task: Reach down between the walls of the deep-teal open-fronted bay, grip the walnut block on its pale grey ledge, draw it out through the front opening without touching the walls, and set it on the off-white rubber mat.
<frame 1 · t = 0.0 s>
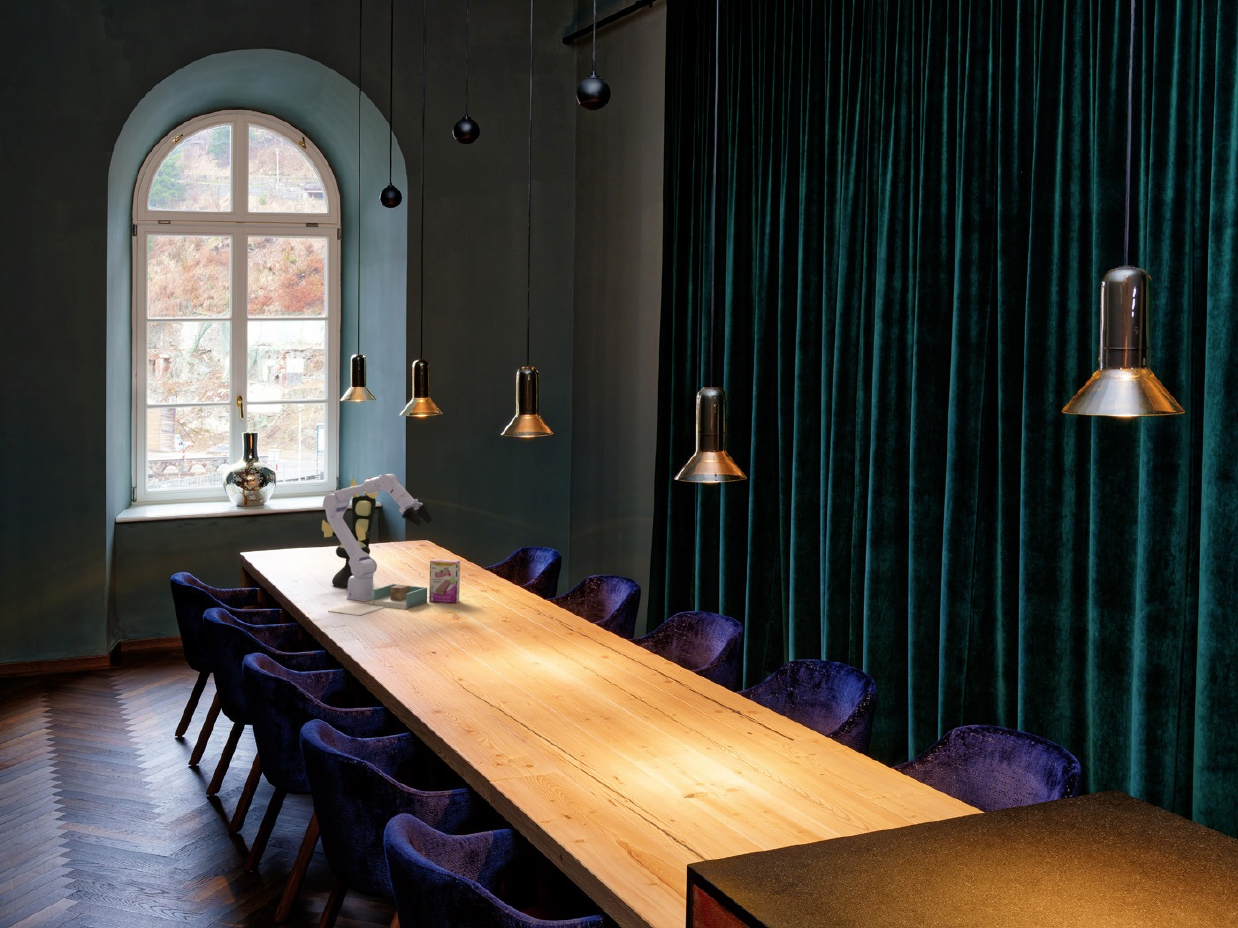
hand: (425, 523, 456), 32 cm above the table, tool tilted 50°, fingers open, 7 cm apart
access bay: (400, 603, 462), on the table
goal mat: (356, 609, 449), on the table
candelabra: (354, 584, 498), on the table
candy bar box: (444, 602, 468), on the table
walnut block: (399, 599, 461), point 2 cm above the table, touching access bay
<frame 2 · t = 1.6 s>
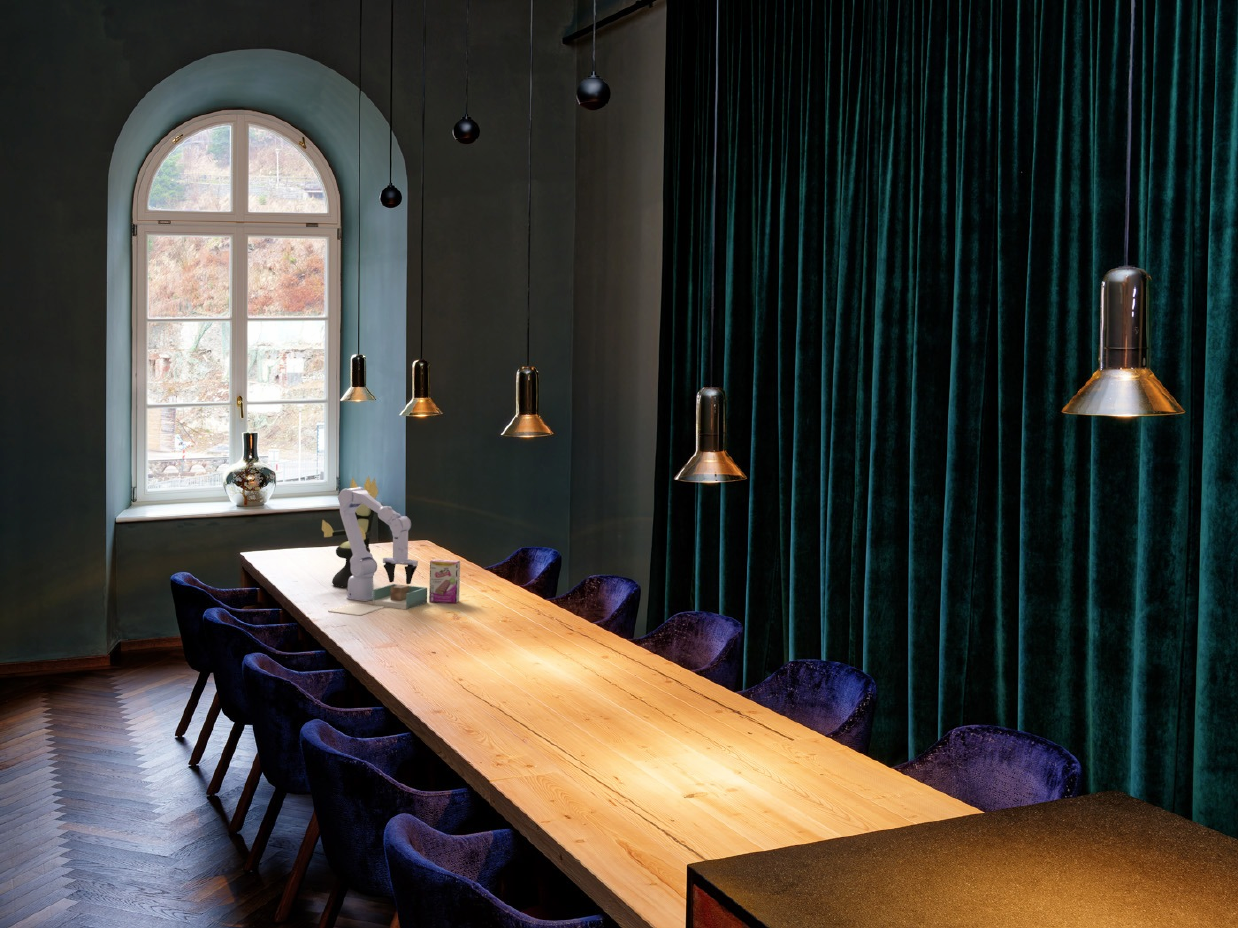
hand: (400, 582, 460), 8 cm above the table, tool pointing down, fingers open, 7 cm apart
nothing on the table moved.
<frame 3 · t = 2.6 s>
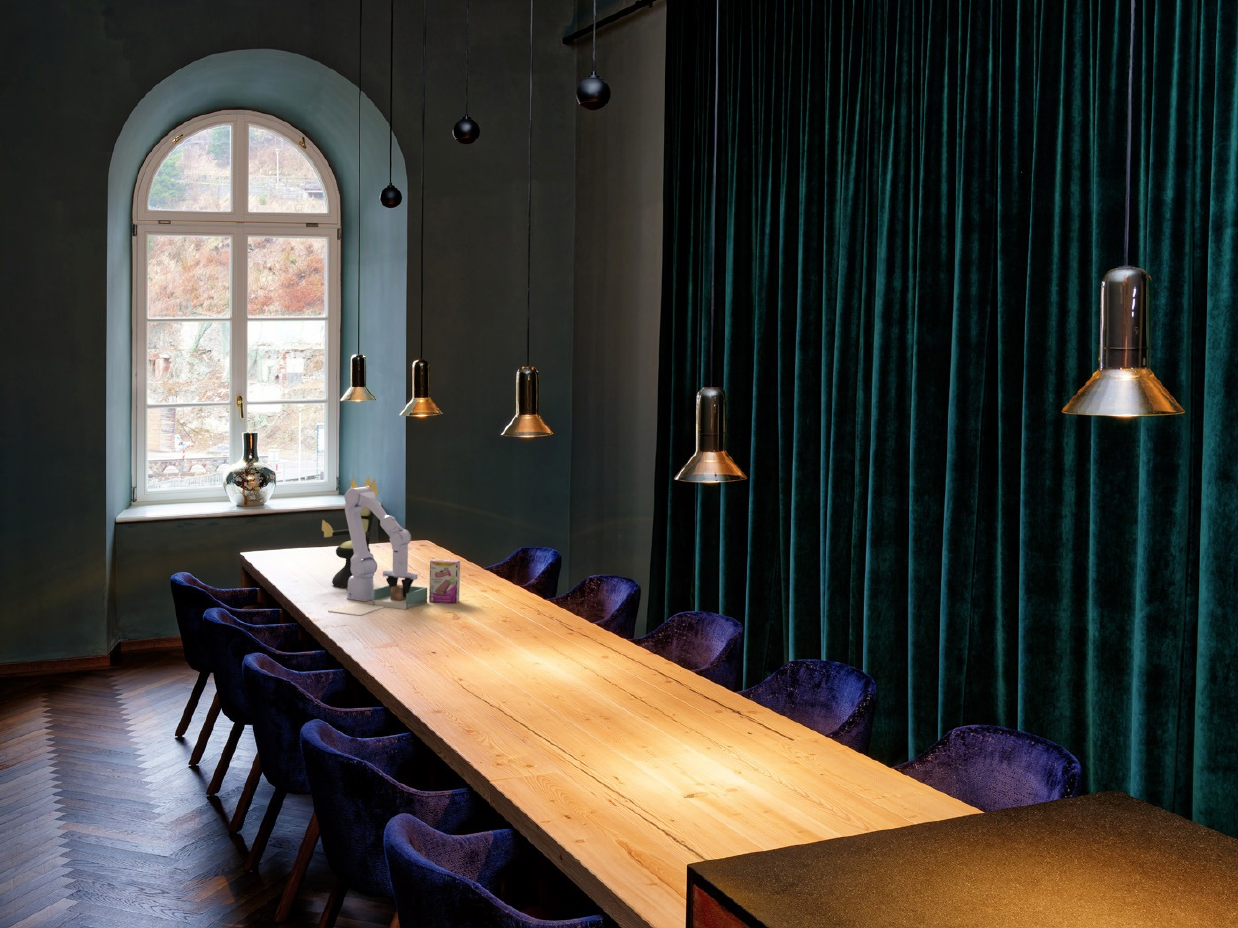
hand: (399, 596, 461), 3 cm above the table, tool pointing down, fingers closed on walnut block, 4 cm apart
walnut block: (399, 599, 461), point 2 cm above the table, touching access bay, gripper
everything else where it was.
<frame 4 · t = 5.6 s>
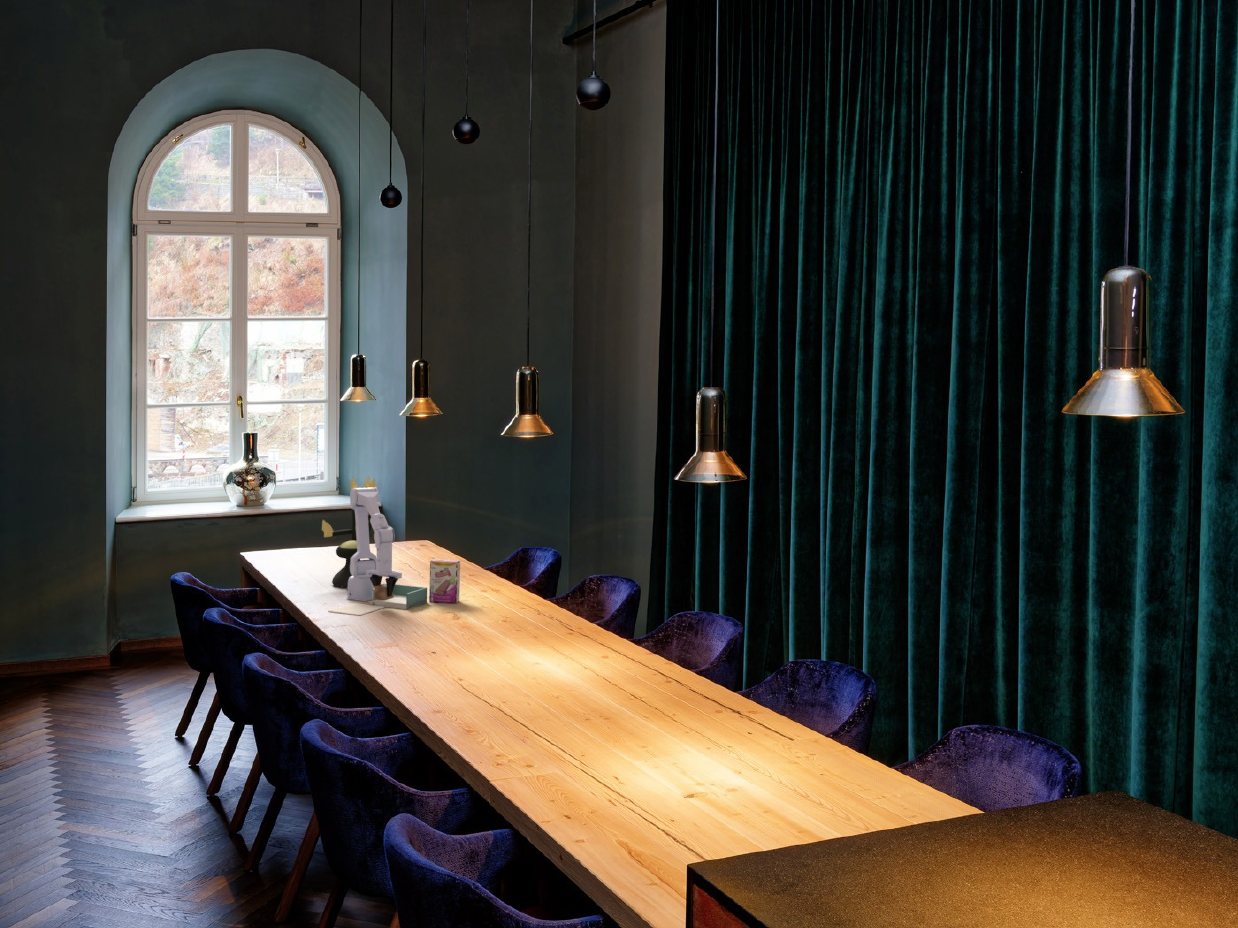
hand: (383, 595, 450), 5 cm above the table, tool pointing down, fingers closed on walnut block, 4 cm apart
walnut block: (383, 598, 451), point 4 cm above the table, touching gripper
everything else where it was.
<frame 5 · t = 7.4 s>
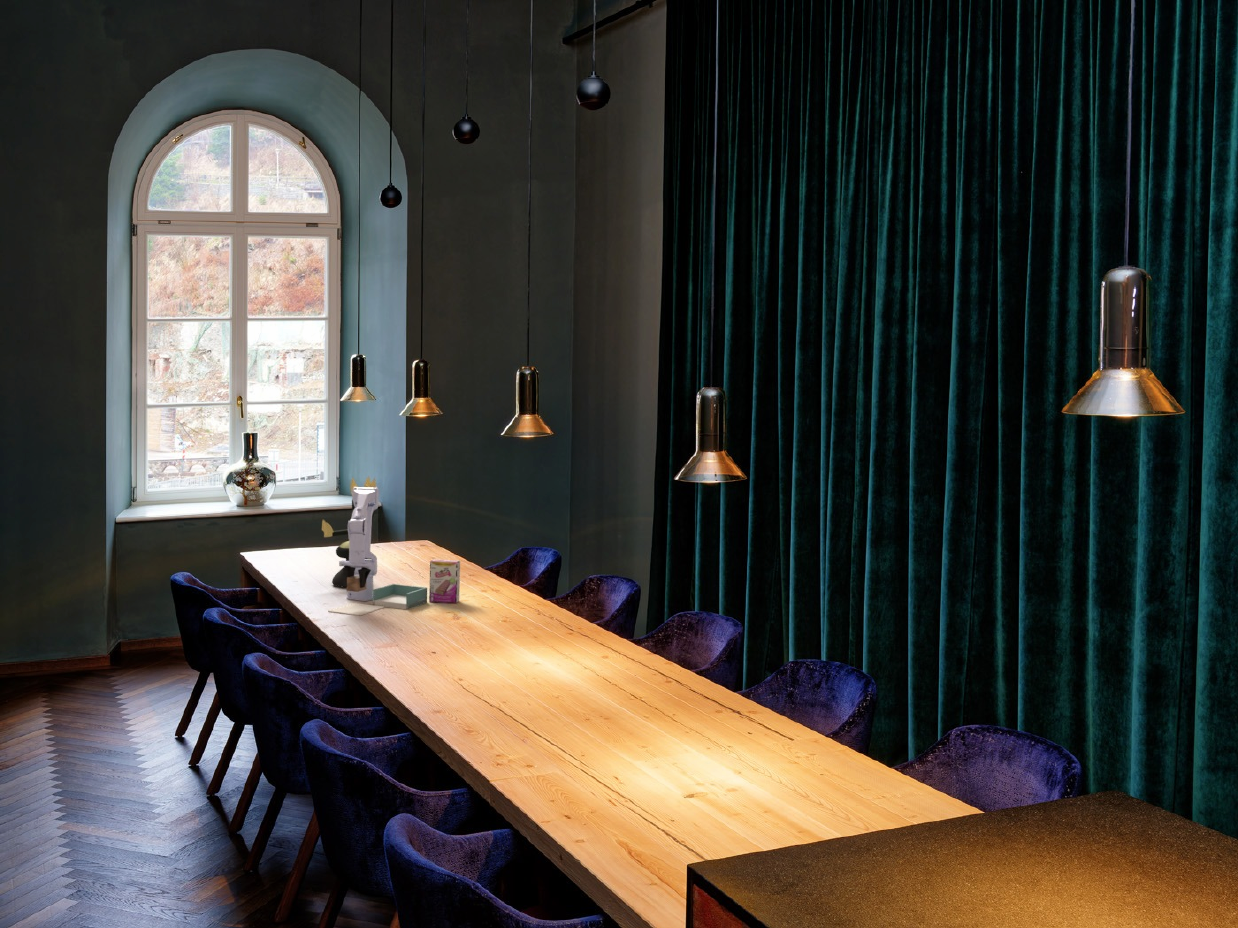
hand: (356, 586, 448), 9 cm above the table, tool pointing down, fingers closed on walnut block, 4 cm apart
walnut block: (356, 589, 448), point 8 cm above the table, touching gripper
everything else where it was.
when the fingers open (3 cm above the table, at t = 8.9 s): walnut block drops 1 cm, resting on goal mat.
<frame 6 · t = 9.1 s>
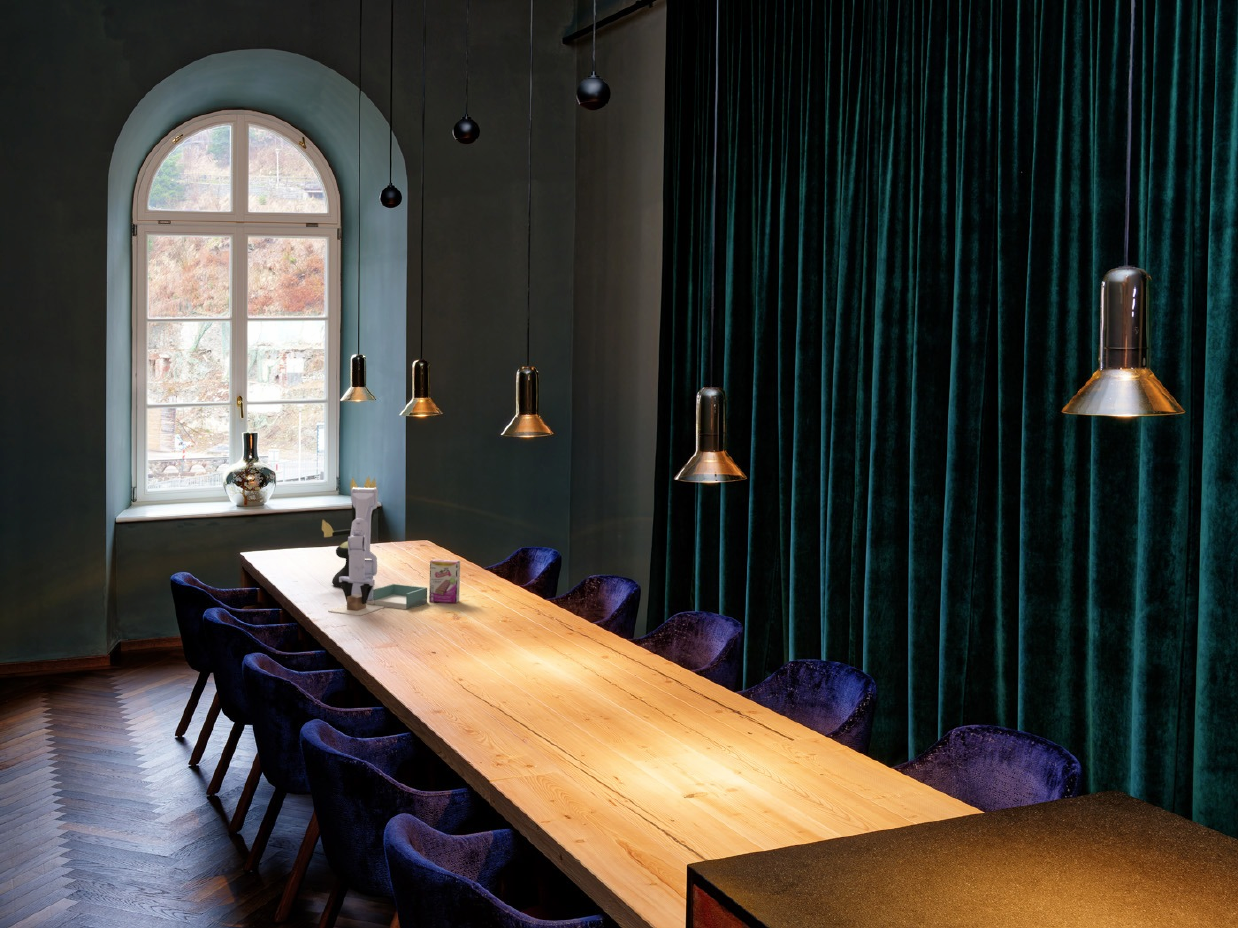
hand: (356, 602, 449), 3 cm above the table, tool pointing down, fingers open, 6 cm apart
walnut block: (356, 608, 449), resting on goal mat
everything else where it was.
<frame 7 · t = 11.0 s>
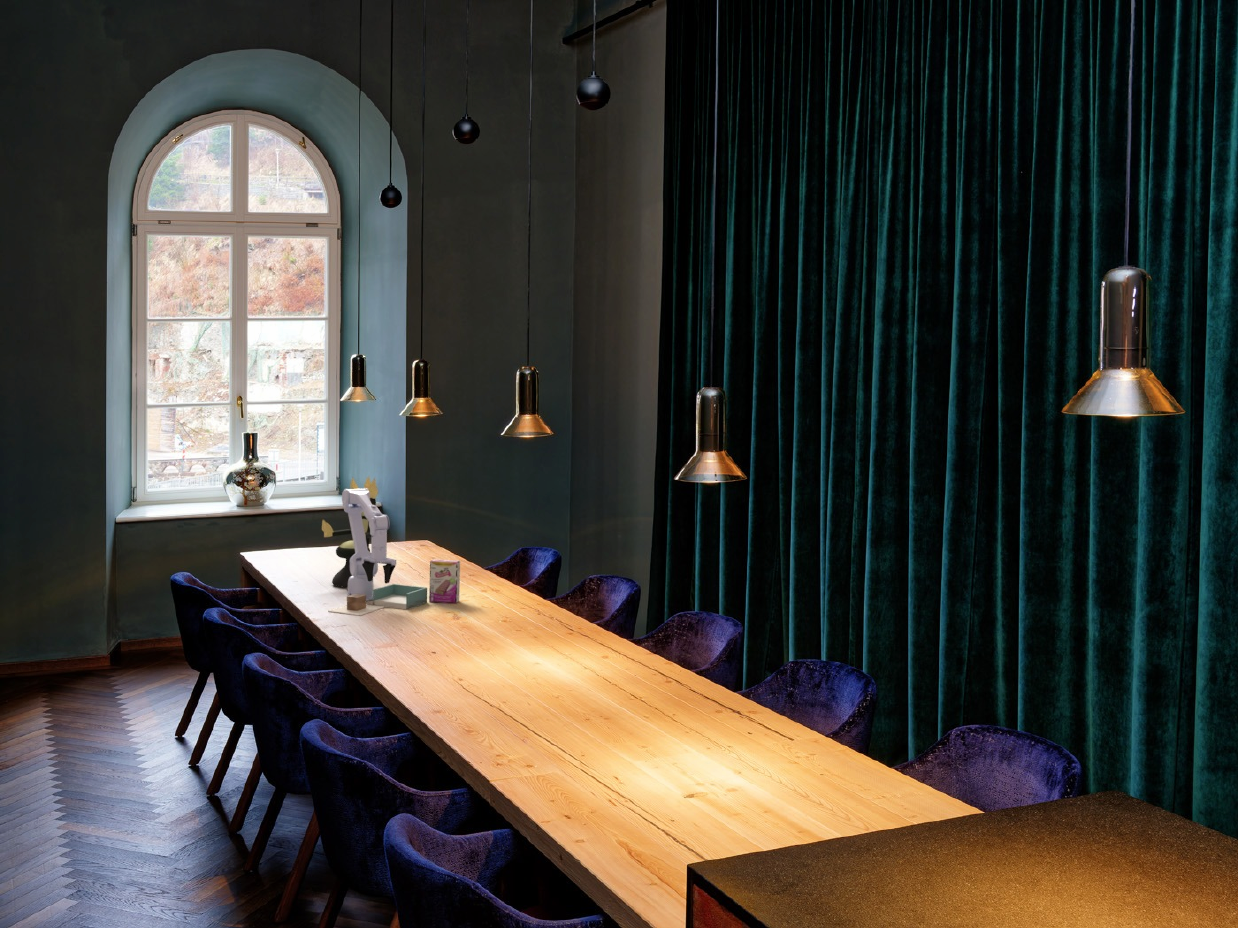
hand: (378, 581, 456), 9 cm above the table, tool pointing down, fingers open, 7 cm apart
nothing on the table moved.
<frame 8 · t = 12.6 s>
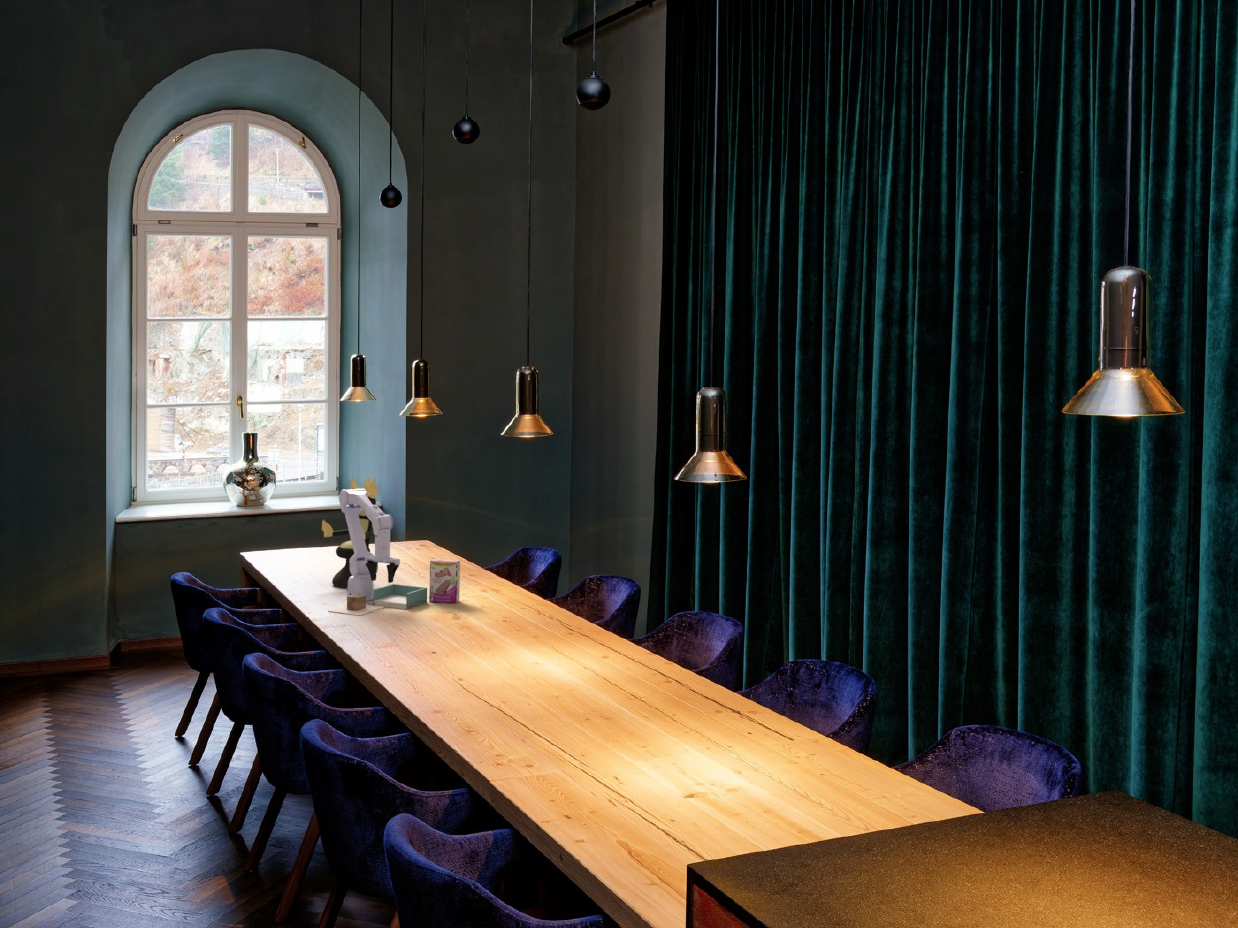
hand: (382, 581, 457), 9 cm above the table, tool pointing down, fingers open, 7 cm apart
nothing on the table moved.
at the end: walnut block inside the target area on the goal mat (0.0 cm from its centre), point 0.4 cm above the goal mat's base; walnut block tilted 0°; the gripper is holding nothing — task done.
